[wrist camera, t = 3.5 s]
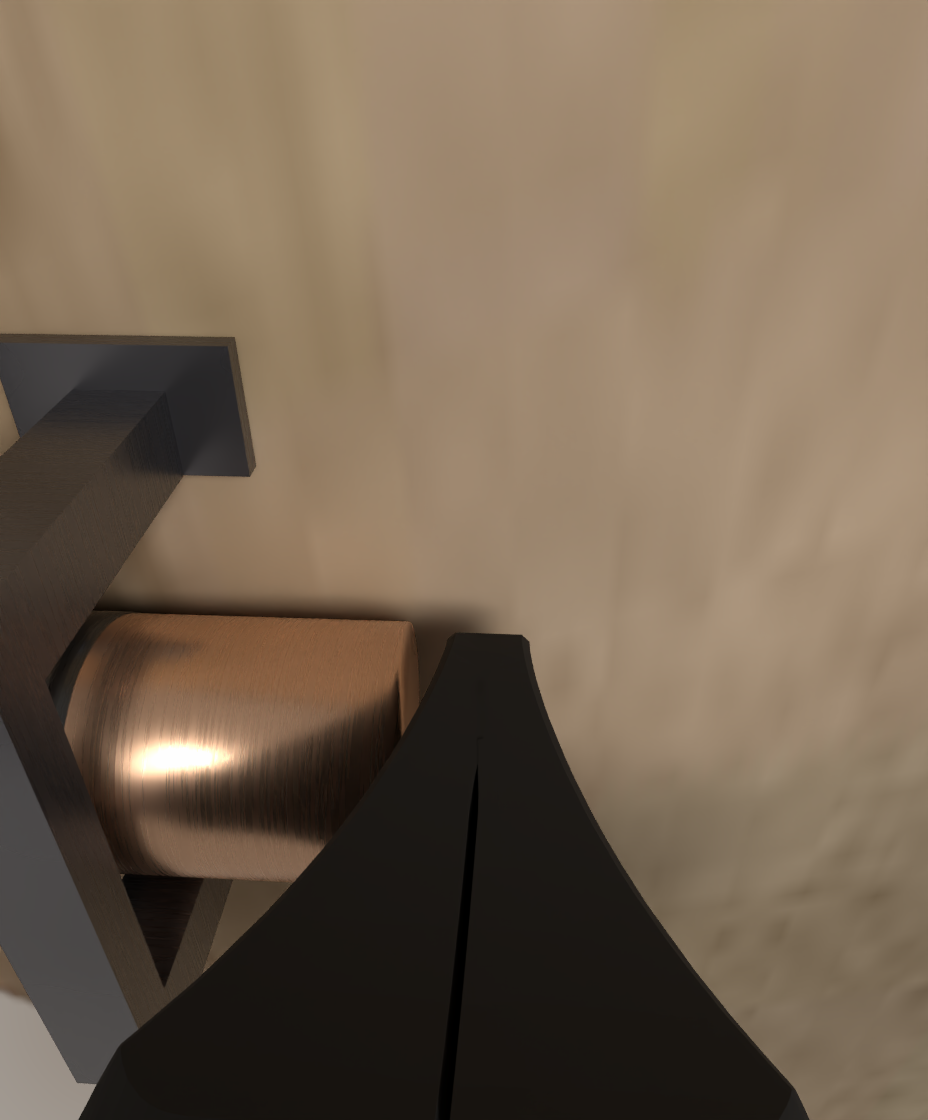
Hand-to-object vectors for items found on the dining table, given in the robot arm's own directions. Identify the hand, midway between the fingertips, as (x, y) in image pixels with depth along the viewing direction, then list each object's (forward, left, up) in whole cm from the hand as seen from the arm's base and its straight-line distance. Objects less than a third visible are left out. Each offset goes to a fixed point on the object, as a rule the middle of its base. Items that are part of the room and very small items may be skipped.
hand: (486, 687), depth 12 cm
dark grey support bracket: (+5, 0, -1) cm, 5 cm away
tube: (+6, 0, -1) cm, 6 cm away
